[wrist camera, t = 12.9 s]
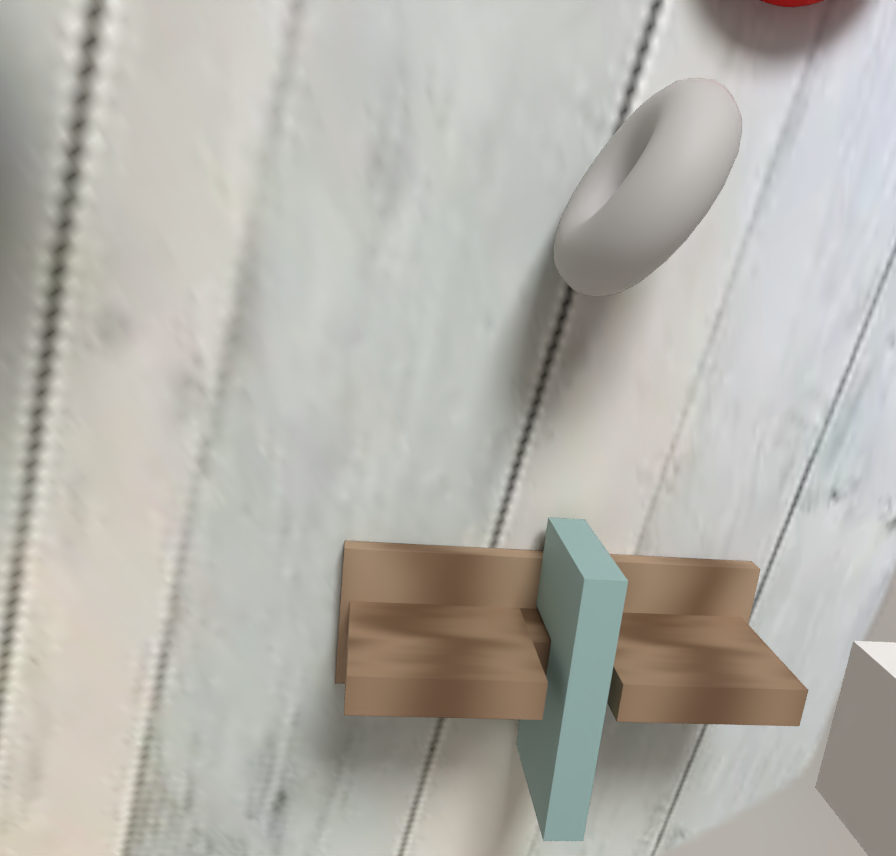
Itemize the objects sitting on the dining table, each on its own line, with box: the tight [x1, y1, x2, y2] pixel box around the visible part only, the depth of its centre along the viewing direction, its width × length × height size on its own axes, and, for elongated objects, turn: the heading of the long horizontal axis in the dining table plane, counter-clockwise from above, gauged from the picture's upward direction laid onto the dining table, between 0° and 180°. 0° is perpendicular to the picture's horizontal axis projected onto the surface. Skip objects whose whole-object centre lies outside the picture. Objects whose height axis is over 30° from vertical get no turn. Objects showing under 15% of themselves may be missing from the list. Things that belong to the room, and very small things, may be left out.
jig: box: [335, 541, 808, 726], centre depth 40 cm, size 23×8×8 cm, turn 84°
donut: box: [554, 78, 742, 296], centre depth 33 cm, size 10×4×10 cm, turn 147°
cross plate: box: [516, 517, 628, 841], centre depth 40 cm, size 14×2×7 cm, turn 174°
